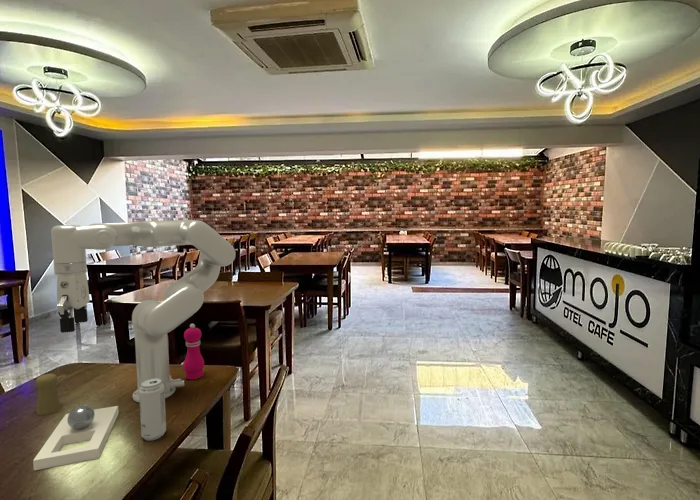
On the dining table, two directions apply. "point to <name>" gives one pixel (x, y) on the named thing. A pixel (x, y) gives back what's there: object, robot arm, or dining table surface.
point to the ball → (81, 417)
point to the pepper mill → (193, 353)
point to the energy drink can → (152, 409)
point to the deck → (77, 440)
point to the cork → (47, 395)
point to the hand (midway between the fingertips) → (74, 326)
